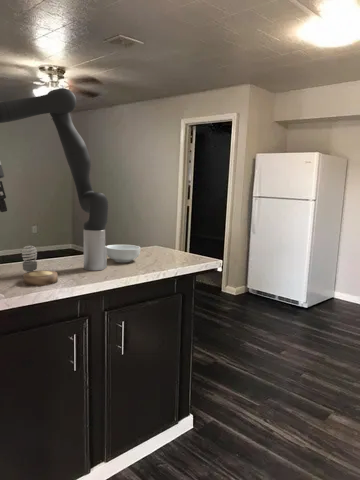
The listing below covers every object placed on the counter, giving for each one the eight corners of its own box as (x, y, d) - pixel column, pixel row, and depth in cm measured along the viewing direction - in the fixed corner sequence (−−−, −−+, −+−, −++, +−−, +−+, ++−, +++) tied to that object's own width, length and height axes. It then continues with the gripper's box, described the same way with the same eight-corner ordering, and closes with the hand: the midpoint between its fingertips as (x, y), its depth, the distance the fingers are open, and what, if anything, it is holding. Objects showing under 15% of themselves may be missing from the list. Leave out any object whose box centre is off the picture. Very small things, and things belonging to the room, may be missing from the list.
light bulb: (39, 274, 159) (38, 244, 158) (34, 277, 154) (34, 247, 152) (25, 273, 159) (24, 244, 157) (20, 277, 153) (19, 246, 152)
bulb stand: (42, 276, 156) (42, 268, 155) (64, 281, 150) (64, 272, 149) (16, 282, 145) (16, 274, 145) (38, 287, 139) (38, 278, 139)
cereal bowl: (144, 263, 186) (144, 249, 185) (109, 265, 180) (109, 250, 179) (135, 257, 202) (135, 243, 201) (102, 258, 195) (102, 244, 194)
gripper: (5, 162, 132) (17, 209, 135) (-3, 165, 144) (8, 209, 147) (-19, 165, 128) (-6, 214, 131) (-26, 168, 140) (-14, 213, 143)
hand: (1, 211), depth 139 cm, fingers open, 8 cm apart
